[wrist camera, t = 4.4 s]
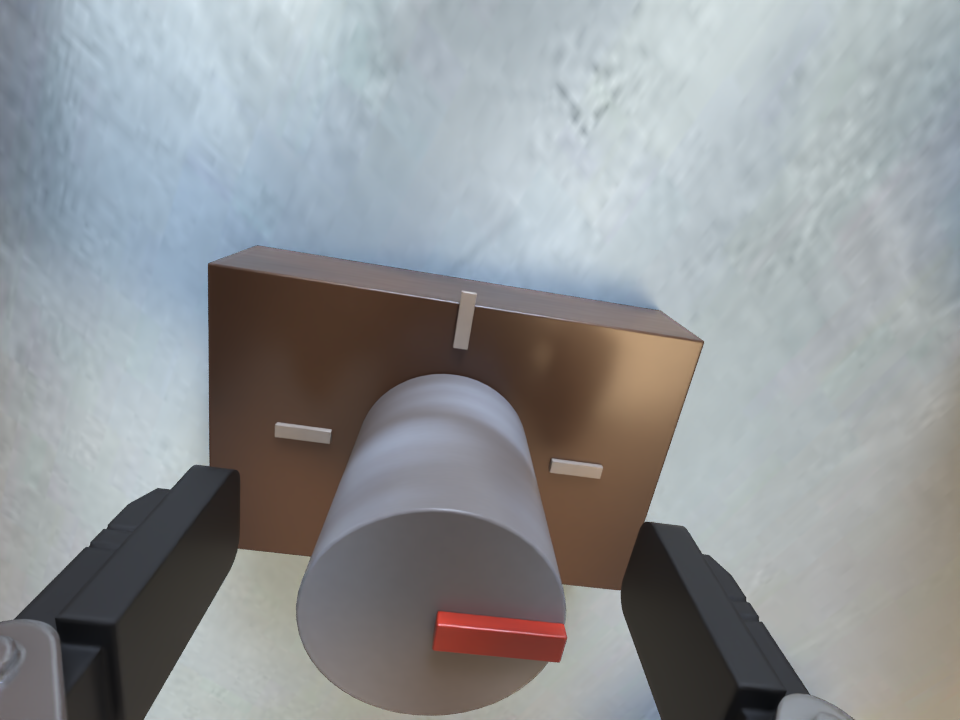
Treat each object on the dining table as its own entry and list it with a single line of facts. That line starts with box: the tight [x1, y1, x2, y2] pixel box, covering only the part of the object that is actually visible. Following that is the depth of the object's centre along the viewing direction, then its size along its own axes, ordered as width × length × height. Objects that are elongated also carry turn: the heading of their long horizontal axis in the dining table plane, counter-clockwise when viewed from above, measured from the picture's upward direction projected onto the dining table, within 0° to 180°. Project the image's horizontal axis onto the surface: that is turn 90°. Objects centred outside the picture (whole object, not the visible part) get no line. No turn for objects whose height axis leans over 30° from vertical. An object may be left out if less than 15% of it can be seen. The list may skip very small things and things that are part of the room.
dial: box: [296, 374, 567, 716], centre depth 11 cm, size 4×4×6 cm
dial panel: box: [208, 245, 704, 590], centre depth 15 cm, size 12×9×3 cm
